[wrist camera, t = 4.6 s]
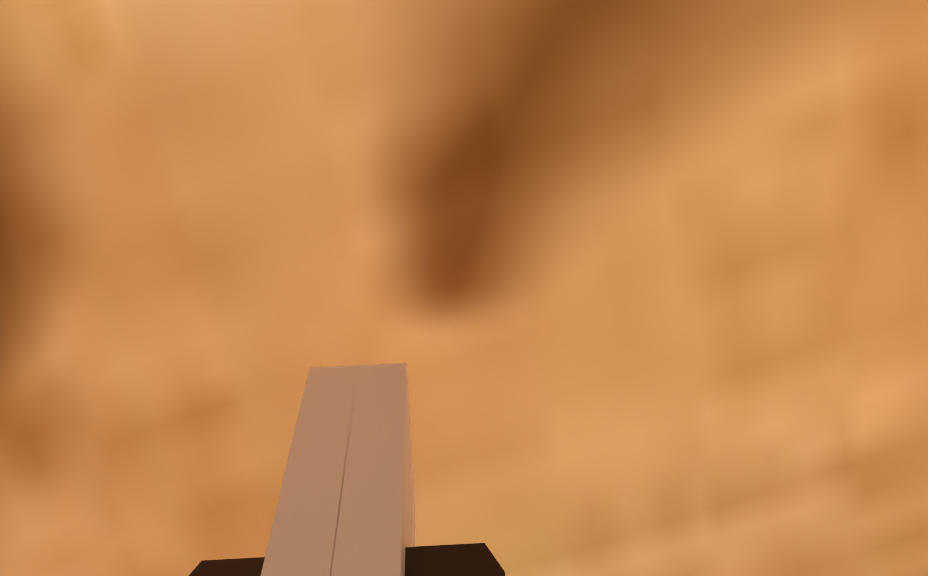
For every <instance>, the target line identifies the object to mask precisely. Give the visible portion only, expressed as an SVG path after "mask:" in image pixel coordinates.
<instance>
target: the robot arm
mask: <svg viewBox="0 0 928 576" xmlns="http://www.w3.org/2000/svg"><path fill="white" fill-rule="evenodd" d="M189 576H505V572H504V570H503V569H502V567H501V566H500V564H499V563H498V562H497V560H496V559H495V557H494V556H493V555H492V553H491V552H490V550H489V549H488V547H487V546H486V545H485V543H476V544H457V545H438V546H419V547H415V494H414V477H413V461H412V445H411V429H410V413H409V396H408V380H407V364H406V363H402V364H380V365H358V366H336V367H315V368H309V372H308V376H307V381H306V385H305V389H304V393H303V398H302V402H301V406H300V410H299V415H298V419H297V423H296V427H295V432H294V436H293V440H292V444H291V449H290V453H289V457H288V461H287V466H286V470H285V474H284V478H283V483H282V487H281V491H280V495H279V500H278V504H277V508H276V512H275V517H274V521H273V525H272V529H271V534H270V538H269V542H268V546H267V551H266V555H265V557H261V558H242V559H223V560H205V561H201V562H200V563H199V565H198V566H197V567H196V568H195V569H194V570H193V571H192V573H191V574H190V575H189Z"/></svg>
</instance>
